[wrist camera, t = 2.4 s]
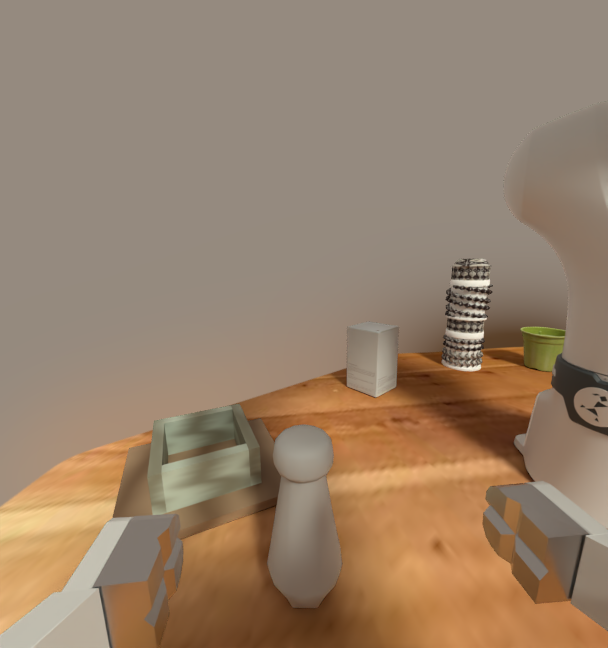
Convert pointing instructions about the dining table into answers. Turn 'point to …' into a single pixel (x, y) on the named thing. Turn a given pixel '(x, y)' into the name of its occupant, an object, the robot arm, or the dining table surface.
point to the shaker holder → (201, 470)
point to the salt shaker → (304, 519)
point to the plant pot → (542, 346)
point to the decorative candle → (466, 314)
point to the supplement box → (372, 357)
